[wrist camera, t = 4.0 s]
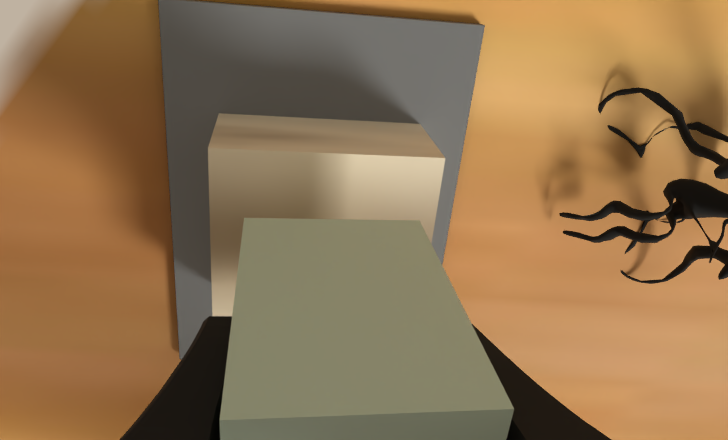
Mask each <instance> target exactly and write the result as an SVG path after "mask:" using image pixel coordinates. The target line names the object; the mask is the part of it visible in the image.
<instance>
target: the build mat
mask: <svg viewBox="0 0 728 440" xmlns="http://www.w3.org/2000/svg"><path fill="white" fill-rule="evenodd" d="M158 4H159V21H160V37H161V54H162V71H163V87H164V104H165V121H166V137H167V154H168V171H169V188H170V204H171V221H172V238H173V254H174V271H175V288H176V304H177V321H178V338H179V355H180V359H182V358H183V357H184V355H185V354H186V352H187V350H188V349H189V347H190V346H191V344H192V342H193V340H194V339H195V337H196V335H197V333H198V331H199V330H200V328H201V325H202V323H203V321H204V320H205V319H207V318H208V317H209V316H212V281H211V244H210V207H209V170H208V146H209V143H210V140H211V137H212V134H213V130H214V127H215V124H216V121H217V118H218V115H219V113H222V114H242V115H261V116H280V117H299V118H318V119H337V120H356V121H375V122H394V123H413V124H420V125H421V126H422V127H423V129H424V130H425V131H426V133H427V134H428V135H429V137H430V138H431V139H432V141H433V142H434V143H435V145H436V146H437V147H438V149H439V150H440V151H441V153H442V154H443V155H444V157H445V164H444V170H443V176H442V182H441V189H440V195H439V201H438V207H437V213H436V219H435V225H434V231H433V237H432V243H431V244H432V246H433V248H434V250H435V252H436V254H437V256H438V258H439V260H440V262H441V264H442V263H443V258H444V252H445V246H446V241H447V235H448V229H449V224H450V218H451V213H452V207H453V201H454V196H455V190H456V184H457V179H458V173H459V168H460V162H461V156H462V151H463V145H464V139H465V134H466V128H467V123H468V117H469V111H470V106H471V100H472V94H473V89H474V83H475V78H476V72H477V66H478V61H479V55H480V49H481V44H482V38H483V33H484V27H485V26H484V25H482V24H474V23H462V22H450V21H437V20H425V19H413V18H401V17H389V16H377V15H365V14H353V13H341V12H329V11H317V10H305V9H293V8H281V7H269V6H257V5H245V4H233V3H220V2H208V1H196V0H158Z"/></svg>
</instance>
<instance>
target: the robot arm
mask: <svg viewBox="0 0 728 440" xmlns="http://www.w3.org/2000/svg"><path fill="white" fill-rule="evenodd" d="M231 321H232V316H209V317H208V318H207V319H205V320H204V321H203V323H202V325H201V328H200V330H199V331H198V333H197V335H196V337H195V339H194V340H193V342H192V344H191V346H190V347H189V349H188V350H187V352H186V354H185V355H184V357H183V358H182V360H181V361H180V363H179V364H178V366H177V367H176V369H175V370H174V372H173V373H172V374H171V376H170V377H169V379H168V380H167V382H166V383H165V385H164V386H163V387H162V389H161V390H160V391H159V393H158V394H157V395H156V396H155V398H154V399H153V400H152V402H151V403H150V404H149V405H148V407H147V408H146V409H145V410H144V412H143V413H142V414H141V415H140V417H139V418H138V419H137V420H136V422H135V423H134V424H133V425H132V426H131V427H130V429H129V430H128V431H127V432H126V433H125V434H124V435H123V437H122V438H121V439H120V440H220V421H219V420H220V412H221V404H222V395H223V387H224V379H225V371H226V363H227V354H228V346H229V338H230V330H231ZM472 326H473V328H474V330H475V332H476V334H477V336H478V338H479V340H480V342H481V344H482V346H483V348H484V350H485V352H486V354H487V356H488V358H489V360H490V362H491V364H492V366H493V368H494V370H495V372H496V374H497V376H498V378H499V380H500V382H501V384H502V386H503V388H504V390H505V392H506V394H507V396H508V398H509V400H510V402H511V404H512V406H513V408H514V412H513V416H512V420H511V424H510V427H509V431H508V435H507V439H506V440H611V439H610V438H608V437H607V436H605V435H604V434H602V433H601V432H600V431H598V430H597V429H595V428H594V427H592V426H591V425H589V424H588V423H587V422H585V421H584V420H582V419H581V418H580V417H578V416H577V415H576V414H574V413H573V412H572V411H570V410H569V409H568V408H566V407H565V406H564V405H563V404H561V403H560V402H559V401H558V400H556V399H555V398H554V397H553V396H551V395H550V394H549V393H548V392H546V391H545V390H544V389H543V388H542V387H540V386H539V385H538V384H537V383H536V382H535V381H533V380H532V379H531V378H530V377H529V376H528V375H526V374H525V373H524V372H523V371H522V370H521V369H520V368H519V367H517V366H516V365H515V364H514V363H513V362H512V361H511V360H510V359H509V358H508V357H507V356H505V355H504V354H503V353H502V352H501V351H500V350H499V349H498V348H497V347H496V346H495V345H494V344H493V343H492V342H490V341H489V340H488V339H487V338H486V337H485V336H484V335H483V334H482V333H481V332H480V331H479V330H478V329H477V328H476V327H475V326H474V325H473V324H472Z"/></svg>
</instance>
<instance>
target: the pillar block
mask: <svg viewBox="0 0 728 440" xmlns="http://www.w3.org/2000/svg"><path fill="white" fill-rule="evenodd" d="M513 412H514V408H513V406H512V404H511V402H510V400H509V398H508V396H507V394H506V392H505V390H504V388H503V386H502V384H501V382H500V380H499V378H498V376H497V374H496V372H495V370H494V368H493V366H492V364H491V362H490V360H489V358H488V356H487V354H486V352H485V350H484V348H483V346H482V344H481V342H480V340H479V338H478V336H477V334H476V332H475V330H474V328H473V326H472V324H471V322H470V320H469V318H468V316H467V314H466V312H465V310H464V308H463V306H462V304H461V302H460V300H459V298H458V296H457V294H456V292H455V290H454V288H453V286H452V284H451V282H450V280H449V278H448V276H447V274H446V272H445V270H444V268H443V266H442V264H441V262H440V260H439V258H438V256H437V254H436V252H435V250H434V248H433V246H432V244H431V242H430V240H429V238H428V236H427V234H426V232H425V230H424V228H423V226H422V224H421V222H420V220H355V219H289V218H244V222H243V231H242V239H241V247H240V255H239V264H238V272H237V280H236V288H235V297H234V305H233V313H232V321H231V330H230V338H229V346H228V354H227V363H226V371H225V379H224V387H223V395H222V404H221V412H220V420H219V421H220V440H506V439H507V435H508V431H509V427H510V424H511V420H512V416H513Z"/></svg>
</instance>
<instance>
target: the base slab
mask: <svg viewBox="0 0 728 440" xmlns="http://www.w3.org/2000/svg"><path fill="white" fill-rule="evenodd" d="M444 164H445V157H444V155H443V154H442V153H441V151H440V150H439V149H438V147H437V146H436V145H435V143H434V142H433V141H432V139H431V138H430V137H429V135H428V134H427V133H426V131H425V130H424V129H423V127H422V126H421V125H420V124H413V123H394V122H375V121H356V120H337V119H318V118H299V117H280V116H261V115H242V114H222V113H219V115H218V118H217V121H216V124H215V127H214V130H213V134H212V137H211V140H210V143H209V146H208V170H209V207H210V244H211V281H212V316H232V313H233V305H234V297H235V288H236V280H237V272H238V264H239V255H240V247H241V239H242V231H243V222H244V218H289V219H355V220H420V222H421V224H422V226H423V228H424V230H425V232H426V234H427V236H428V238H429V240H430V242H431V243H432V237H433V231H434V225H435V219H436V213H437V207H438V201H439V195H440V189H441V182H442V176H443V170H444Z"/></svg>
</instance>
